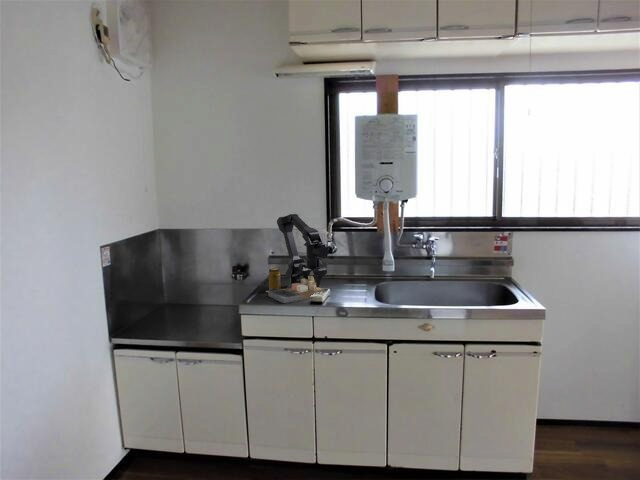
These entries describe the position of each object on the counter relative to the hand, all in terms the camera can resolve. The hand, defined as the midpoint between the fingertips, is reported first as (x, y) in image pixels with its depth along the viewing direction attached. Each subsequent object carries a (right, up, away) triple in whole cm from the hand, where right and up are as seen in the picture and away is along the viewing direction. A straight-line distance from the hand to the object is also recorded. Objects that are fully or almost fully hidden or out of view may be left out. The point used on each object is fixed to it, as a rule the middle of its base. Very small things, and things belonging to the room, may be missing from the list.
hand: (312, 285), depth 231 cm
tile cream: (-5, -2, -6) cm, 8 cm away
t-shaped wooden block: (-1, -1, 0) cm, 1 cm away
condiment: (-19, -4, +5) cm, 20 cm away
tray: (-14, -6, -8) cm, 17 cm away
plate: (-4, -4, -2) cm, 6 cm away
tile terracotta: (-8, -1, -2) cm, 8 cm away
